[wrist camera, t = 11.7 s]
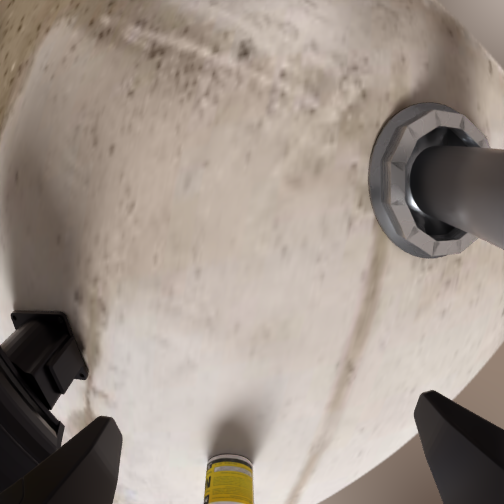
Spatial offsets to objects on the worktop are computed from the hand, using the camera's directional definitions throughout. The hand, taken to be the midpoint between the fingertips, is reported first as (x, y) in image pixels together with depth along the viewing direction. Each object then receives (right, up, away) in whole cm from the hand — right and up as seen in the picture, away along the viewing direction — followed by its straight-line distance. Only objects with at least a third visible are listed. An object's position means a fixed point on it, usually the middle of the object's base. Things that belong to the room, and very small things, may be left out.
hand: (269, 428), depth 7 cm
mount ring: (+12, +10, +11) cm, 19 cm away
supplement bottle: (-3, -17, +19) cm, 26 cm away
